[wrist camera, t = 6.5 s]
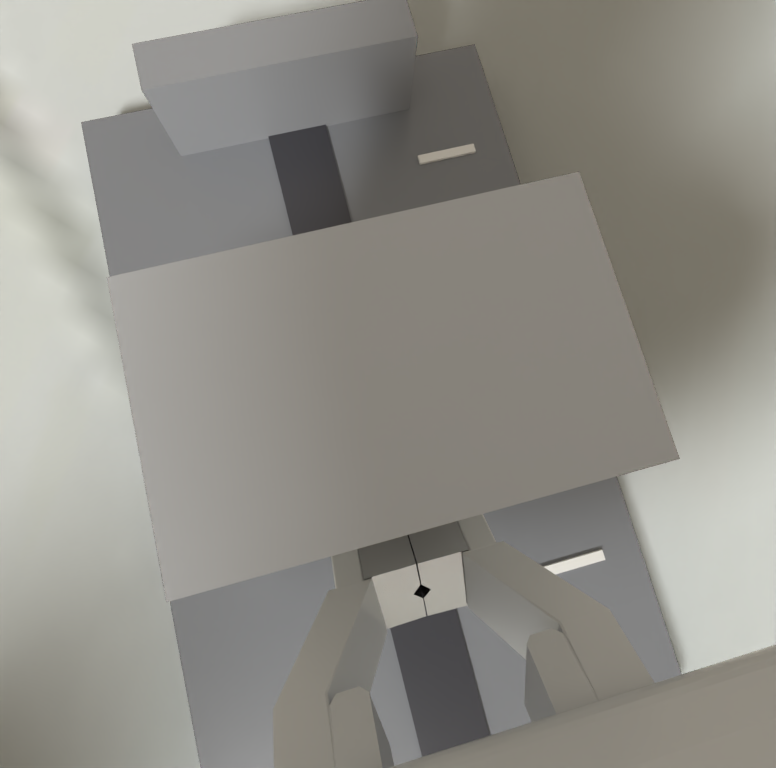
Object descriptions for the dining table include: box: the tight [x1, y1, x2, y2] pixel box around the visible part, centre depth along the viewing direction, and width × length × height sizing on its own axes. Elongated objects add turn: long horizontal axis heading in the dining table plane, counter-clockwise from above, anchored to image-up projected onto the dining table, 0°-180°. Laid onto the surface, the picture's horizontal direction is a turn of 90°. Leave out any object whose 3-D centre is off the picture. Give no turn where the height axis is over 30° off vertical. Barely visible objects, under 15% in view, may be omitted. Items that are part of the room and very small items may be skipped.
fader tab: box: [107, 172, 680, 602], centre depth 10 cm, size 3×5×10 cm, turn 105°
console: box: [81, 0, 682, 768], centre depth 15 cm, size 24×14×5 cm, turn 15°
